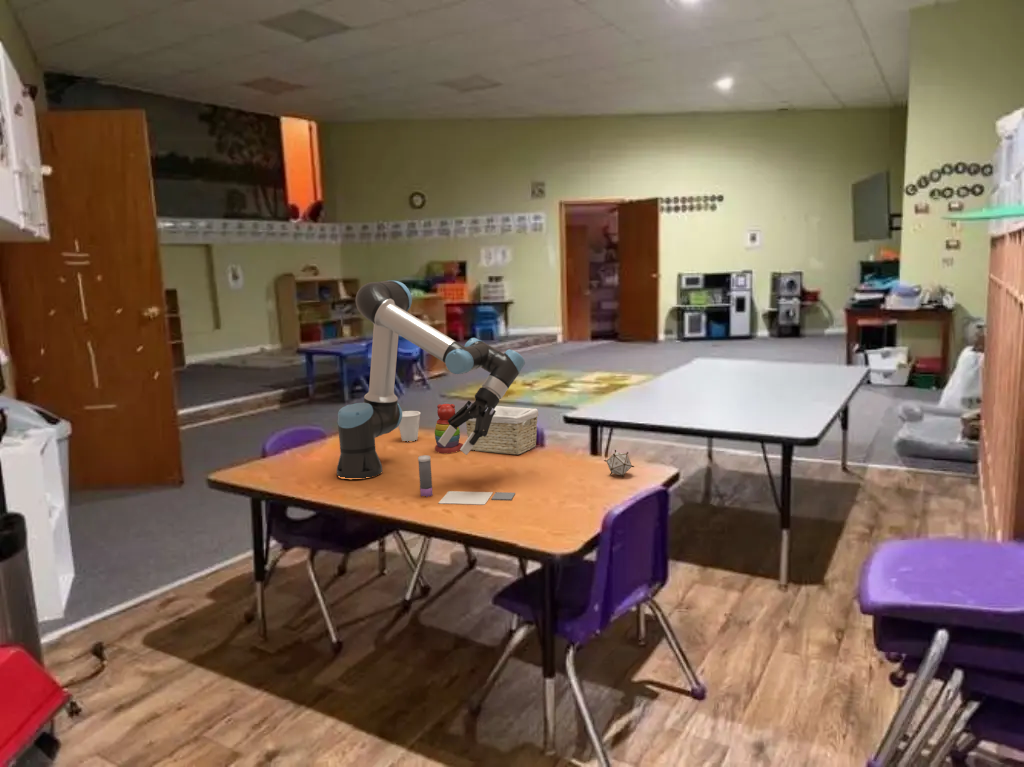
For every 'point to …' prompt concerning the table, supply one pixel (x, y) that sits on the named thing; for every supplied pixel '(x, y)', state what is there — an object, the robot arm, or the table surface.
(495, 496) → the rest pad
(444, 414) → the stacking bear
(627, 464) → the game die
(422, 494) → the marker
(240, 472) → the table surface
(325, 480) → the table surface
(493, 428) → the storage basket
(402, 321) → the robot arm
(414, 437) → the cup
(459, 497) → the paper
